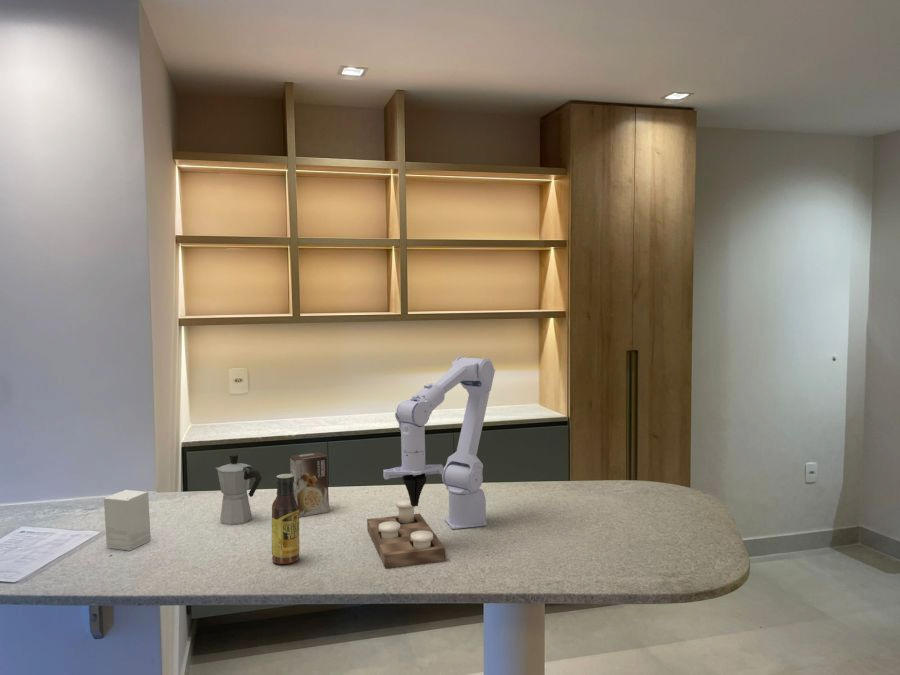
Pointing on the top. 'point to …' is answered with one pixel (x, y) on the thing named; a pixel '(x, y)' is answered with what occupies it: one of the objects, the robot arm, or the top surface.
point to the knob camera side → (421, 539)
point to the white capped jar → (405, 510)
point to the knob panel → (404, 543)
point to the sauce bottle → (285, 522)
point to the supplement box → (127, 520)
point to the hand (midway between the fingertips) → (414, 505)
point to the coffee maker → (236, 491)
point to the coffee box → (310, 483)
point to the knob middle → (389, 529)
